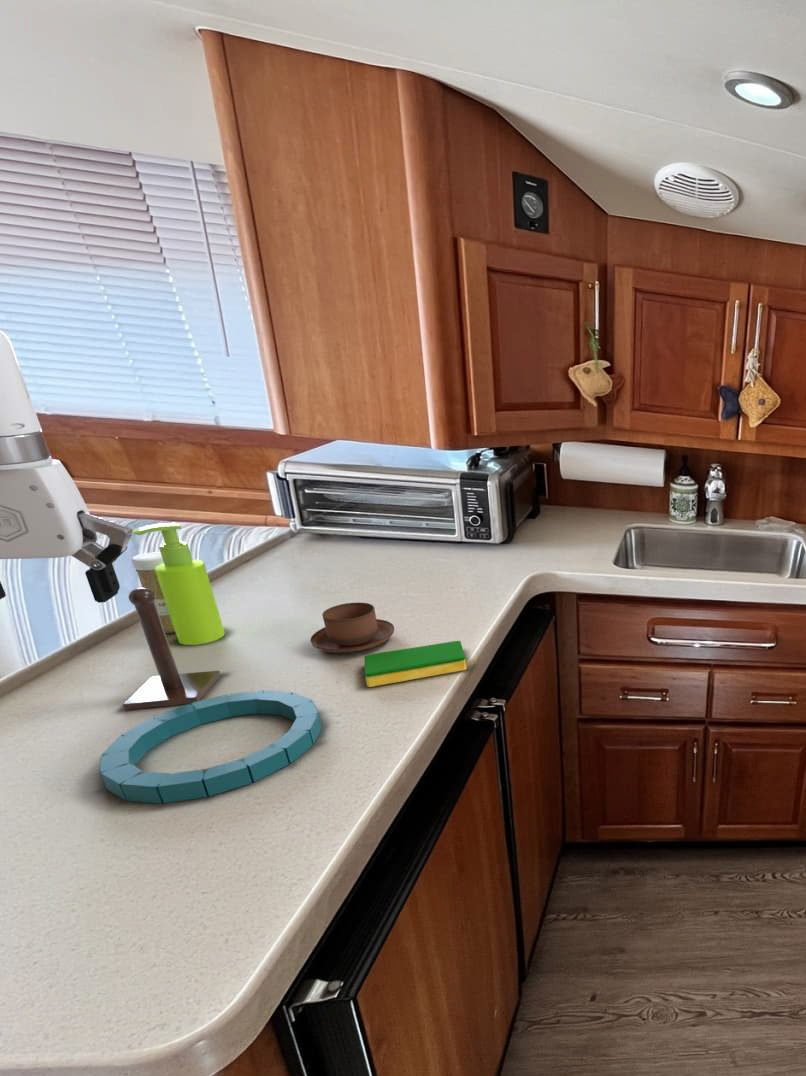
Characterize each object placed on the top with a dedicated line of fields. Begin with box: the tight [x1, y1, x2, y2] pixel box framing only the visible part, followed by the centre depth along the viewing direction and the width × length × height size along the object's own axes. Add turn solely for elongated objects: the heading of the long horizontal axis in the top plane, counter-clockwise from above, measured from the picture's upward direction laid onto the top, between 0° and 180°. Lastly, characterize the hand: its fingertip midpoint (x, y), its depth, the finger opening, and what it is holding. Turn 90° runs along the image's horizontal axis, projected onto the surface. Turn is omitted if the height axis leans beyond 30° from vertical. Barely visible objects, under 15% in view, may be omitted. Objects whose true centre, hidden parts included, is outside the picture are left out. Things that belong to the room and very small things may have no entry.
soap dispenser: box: [132, 522, 226, 646], centre depth 104 cm, size 6×7×20 cm
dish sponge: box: [364, 640, 467, 688], centre depth 104 cm, size 7×14×2 cm, turn 122°
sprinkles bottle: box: [131, 551, 176, 634], centre depth 107 cm, size 5×5×14 cm
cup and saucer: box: [310, 602, 395, 654], centre depth 109 cm, size 12×12×6 cm
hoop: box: [99, 689, 323, 804], centre depth 82 cm, size 21×21×2 cm
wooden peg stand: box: [122, 587, 221, 711], centre depth 90 cm, size 8×8×16 cm
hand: (51, 600), depth 72 cm, fingers open, 9 cm apart
